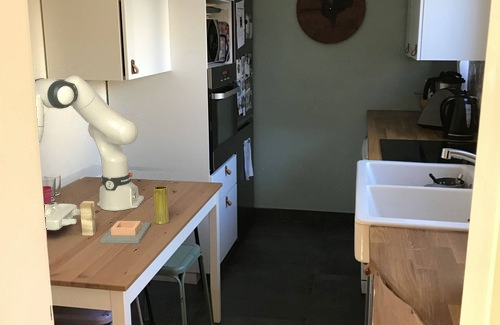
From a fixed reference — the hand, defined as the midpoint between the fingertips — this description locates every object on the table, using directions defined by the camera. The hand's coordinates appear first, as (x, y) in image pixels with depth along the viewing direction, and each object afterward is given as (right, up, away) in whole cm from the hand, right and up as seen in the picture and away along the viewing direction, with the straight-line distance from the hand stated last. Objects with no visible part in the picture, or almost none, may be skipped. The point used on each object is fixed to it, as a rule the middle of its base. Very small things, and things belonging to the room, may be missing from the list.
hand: (80, 216), depth 210 cm
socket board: (+17, -6, +1) cm, 18 cm away
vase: (+28, -3, +14) cm, 32 cm away
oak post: (+3, -6, +1) cm, 7 cm away
